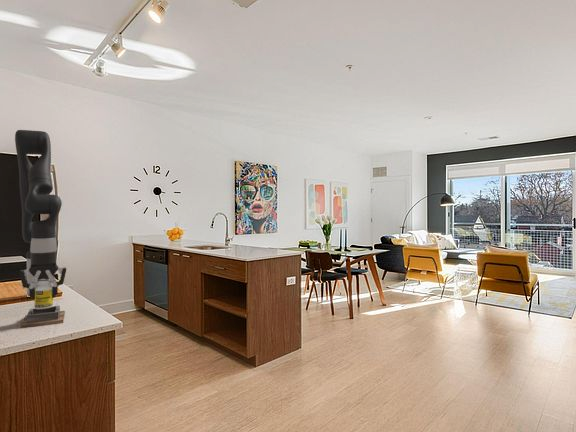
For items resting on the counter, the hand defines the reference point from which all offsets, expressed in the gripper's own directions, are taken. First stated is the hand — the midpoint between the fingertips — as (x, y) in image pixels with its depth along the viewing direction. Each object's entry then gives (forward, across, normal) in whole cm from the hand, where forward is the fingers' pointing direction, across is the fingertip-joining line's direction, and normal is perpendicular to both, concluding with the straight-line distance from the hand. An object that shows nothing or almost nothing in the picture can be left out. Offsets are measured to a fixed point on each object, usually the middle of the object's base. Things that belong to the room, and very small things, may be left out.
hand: (43, 297), depth 123 cm
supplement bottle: (+4, 0, 0) cm, 4 cm away
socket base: (+8, 0, 0) cm, 8 cm away
